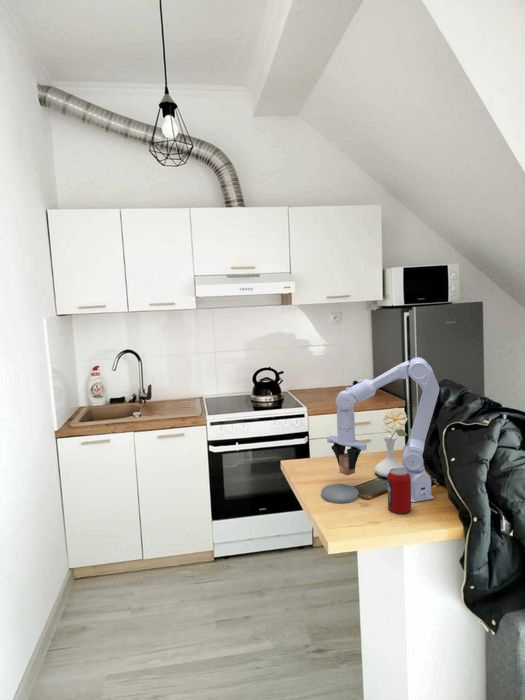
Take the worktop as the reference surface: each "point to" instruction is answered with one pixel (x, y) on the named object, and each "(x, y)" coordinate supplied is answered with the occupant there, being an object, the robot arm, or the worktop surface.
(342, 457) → the terracotta block
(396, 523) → the worktop surface
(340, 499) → the slate base plate
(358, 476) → the worktop surface
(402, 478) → the beverage can
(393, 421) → the flower in vase
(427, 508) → the worktop surface
